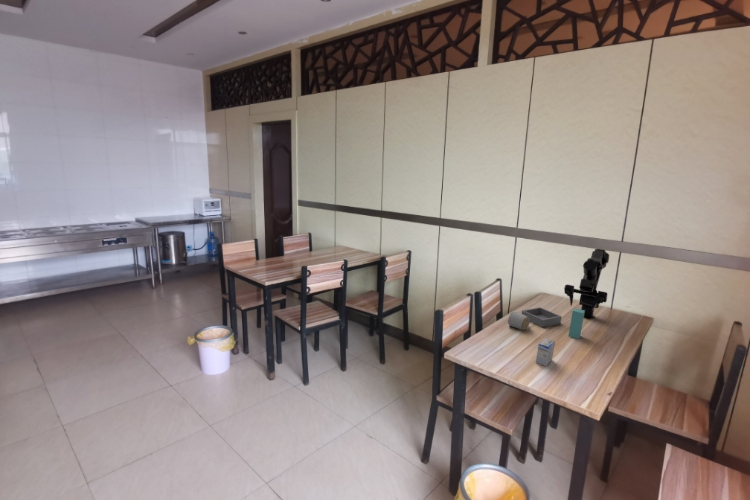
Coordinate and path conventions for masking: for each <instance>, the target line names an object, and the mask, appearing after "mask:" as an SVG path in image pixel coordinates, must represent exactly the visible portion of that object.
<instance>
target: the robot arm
mask: <svg viewBox="0 0 750 500" xmlns="http://www.w3.org/2000/svg"><path fill="white" fill-rule="evenodd" d="M609 260H610V254H609V252H607V251H606V250H605V249H603V248H594V251H592V252H591V256H590V257H588V258H587V260H586V261H584V263H583V264H582V265H583V266H582V267H583V276H582V278H581V279H580V283H579V285H578V288H579V289H578V288H575V285H571V284H565V285H564V288H563V289H564V294H565V295H566V296H567V297H568V298H569V303H570V305H569V306H570V307H572V306H573V301H574V293H575V294H579V295H580V296H579V306H580V305H581V309H580V310H584V311H585V313H584V318H585V319H589V320H590V319H593V318H596V315H594V312H595V309H599V307H600V304H603V303H607V300H608V292H606V291H601V290H597V289H598V285H599V281H600V279H601V278H600V277H601V274H602V270H603V269H605V268H606V267H607V265H608V264H609Z"/></svg>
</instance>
